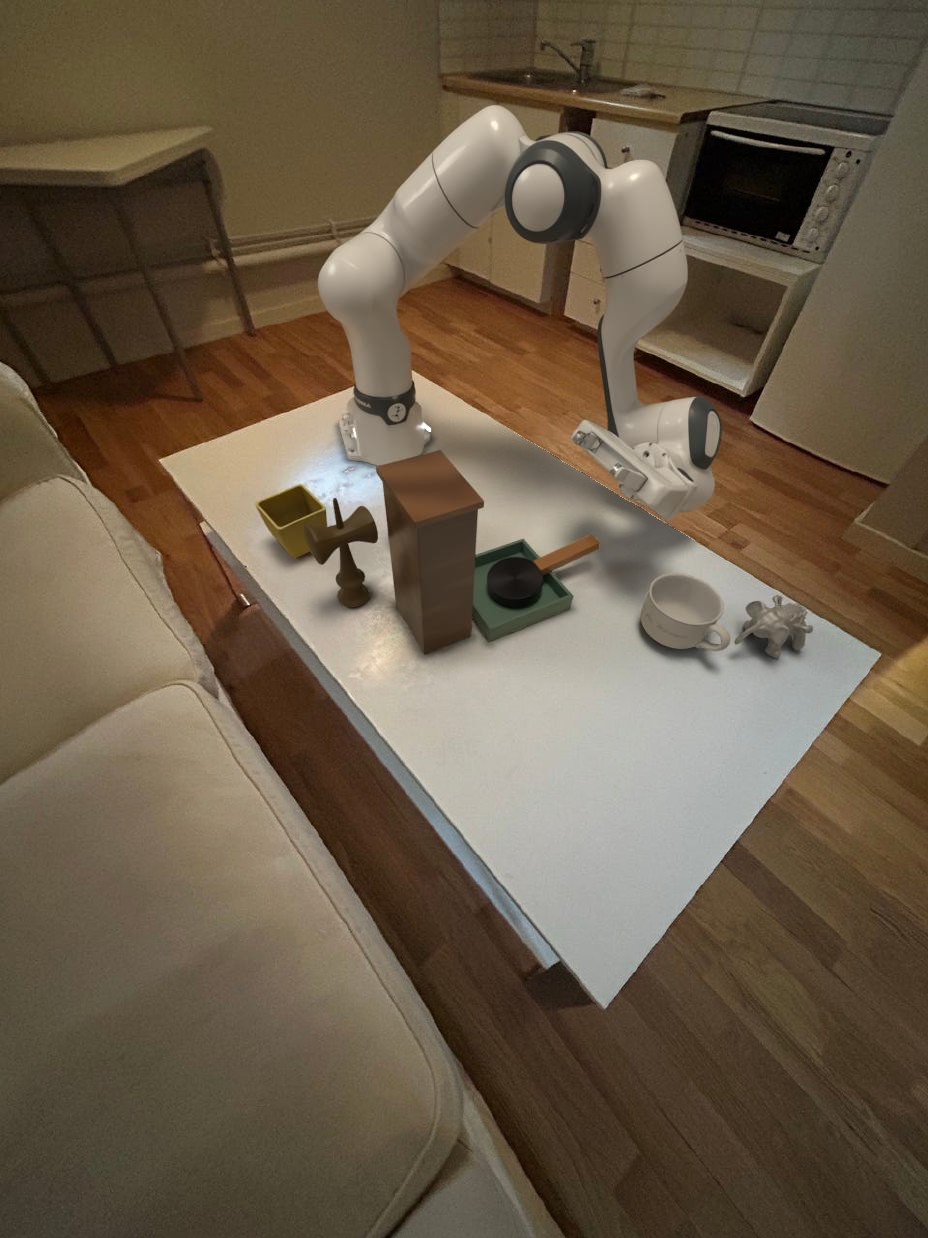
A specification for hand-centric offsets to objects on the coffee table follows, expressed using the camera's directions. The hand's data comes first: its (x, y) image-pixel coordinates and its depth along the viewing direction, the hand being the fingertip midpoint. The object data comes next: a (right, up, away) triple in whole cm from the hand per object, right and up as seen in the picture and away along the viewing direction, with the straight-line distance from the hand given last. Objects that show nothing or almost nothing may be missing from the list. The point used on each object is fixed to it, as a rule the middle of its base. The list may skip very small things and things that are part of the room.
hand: (594, 452), depth 76 cm
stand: (-23, -24, +10) cm, 35 cm away
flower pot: (-47, -11, +20) cm, 52 cm away
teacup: (+15, -26, +9) cm, 32 cm away
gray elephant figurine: (+28, -28, +8) cm, 40 cm away
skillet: (-5, -16, +14) cm, 22 cm away
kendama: (-36, -20, +12) cm, 43 cm away
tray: (-11, -19, +14) cm, 26 cm away
